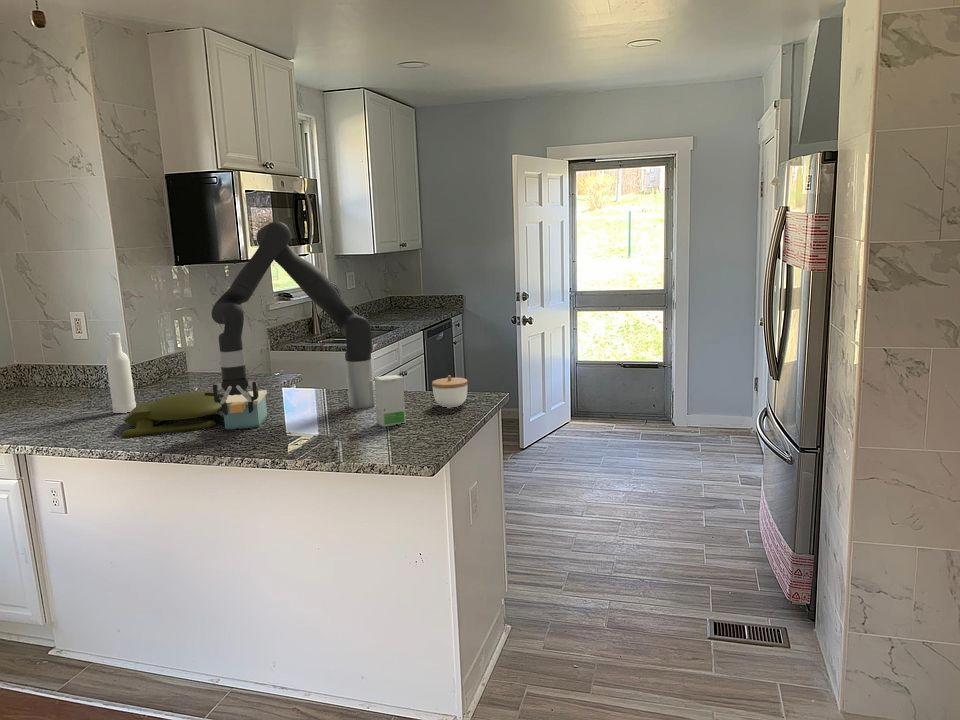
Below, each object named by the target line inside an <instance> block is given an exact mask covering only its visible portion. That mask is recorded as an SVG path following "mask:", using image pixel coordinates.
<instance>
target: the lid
mask: <svg viewBox="0 0 960 720" xmlns="http://www.w3.org/2000/svg"><path fill="white" fill-rule="evenodd" d="M248 392H249V393H250V395H251V396H253V390H248ZM267 394H268V390H267V389H265V390H263V389H261V390H258V395H259V397H258V398H257V399H256V400H254V401H253V404H259V402H260V401H261V400H262V399H263V398H264V396H265V397H266V395H267ZM226 403H227V406H229V409H230V413H238V412H243V411H244V410H245V409H246V405H248V400H247V399H246V398H245V397H244V396H243V395H242V394H241V395H233V396H231V395H229V397H228V398H227V400H226ZM220 406H221V404H220Z"/></svg>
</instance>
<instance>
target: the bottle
mask: <svg viewBox="0 0 960 720" xmlns="http://www.w3.org/2000/svg"><path fill="white" fill-rule="evenodd" d="M108 340H109V345H110V354H108V355H107V358H106V370H107V376H108V383H109V392H110V397H111V403H112V404H111V407H112V411H113V414H114V413H126V414H128V413H127V412H131V411H132V410H133V409H134V408H135V407H137V404H136V398H135V392H134V390H135V389H134V383H133V382H134V381H133V377H132V369H131V361H130V357H128V354H126V353H125V352H124V351H123V348H122V340H121V334H120V332H111V333H109V334H108Z"/></svg>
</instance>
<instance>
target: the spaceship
mask: <svg viewBox="0 0 960 720" xmlns="http://www.w3.org/2000/svg"><path fill="white" fill-rule="evenodd" d="M224 394H225V393H220V392H219V395H220V398H221V399H222V398H223V396H224ZM218 413H222V407H221V406H220V403H218V402H217V403H216V402H215V401H214V394H213V391H189V392H188V391H187V392H181V393H177V394H176V393H175V394H172V395H168V396H163V397H161V398H159V399H157V400H151V401H141V402H140V403H139V404H138V405H136V407H135V408H134V409H133V410H132V411H131V412H130V413H128V414H127V416H126V417H125V418H124V419H123V422H125V423H126V424H129V425H131V426H134V427H135V428H129V429H126V430H124V431H123V432H122V433H121V434H122V437H123V438H134V437H141V436H143V437H144V436H152V435H153V434H154V435H161V433H163V434H169V433H170V432H171V433H180V432H188V431H187V430H189V431H196V430H195V429H198V430H203V429H202V428H207V429H210V428H209V427H212V428H214V427H215V426H216V424H217V423H216V421H214V420H201V421H200V420H199V421H191V422H182V423H174V424H164V425H158V424H160V423H161V422H162V421H174V420H176V421H177V420H186V419H194V418H200V417H206V416H209V415H214V414H218ZM155 425H157V426H155ZM213 426H214V427H213ZM179 431H180V432H179Z"/></svg>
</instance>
